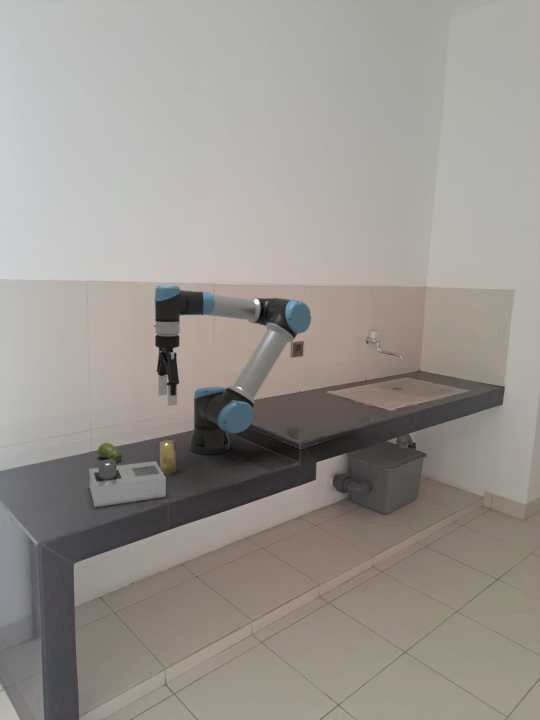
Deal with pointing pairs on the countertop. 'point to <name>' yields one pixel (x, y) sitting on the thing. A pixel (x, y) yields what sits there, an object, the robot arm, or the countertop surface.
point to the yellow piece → (167, 456)
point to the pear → (109, 452)
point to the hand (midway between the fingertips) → (167, 399)
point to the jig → (126, 482)
